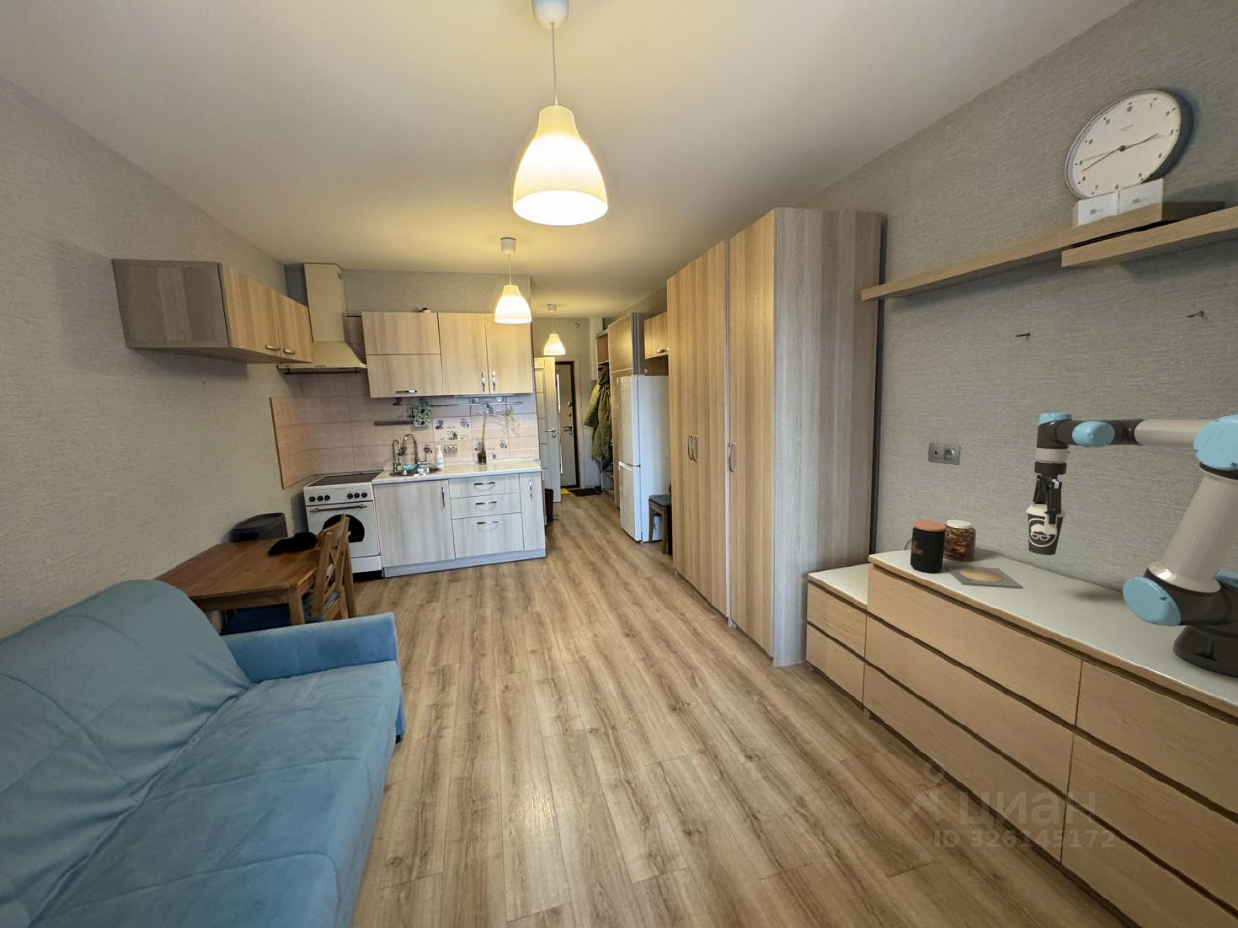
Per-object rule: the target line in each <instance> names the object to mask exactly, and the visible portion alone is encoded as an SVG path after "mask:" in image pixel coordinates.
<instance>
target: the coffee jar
mask: <svg viewBox="0 0 1238 928" xmlns="http://www.w3.org/2000/svg"><path fill="white" fill-rule="evenodd" d="M912 526H913V527H912V533H911V534H912V536H911V545H910V546H911V548H910V550H911V551H910V559H909V560H910V561H909V562H910V563H909V565H910V566H911V568H912V567H913V568H914V569H913V568H912V569H913V570H915V571H917V570H918V572H920V571H921V572H920V573H925V572H926V573H925V574H938V573H940V572H941V571H942V569H943V567H944V558H943V554H944V543H945V531H944V530H945V529H946V526H945V524H943V523H941V522H938V521H932V520H914V521H913V522H912Z"/></svg>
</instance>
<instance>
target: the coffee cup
mask: <svg viewBox="0 0 1238 928" xmlns="http://www.w3.org/2000/svg"><path fill="white" fill-rule="evenodd" d="M1053 510H1055V509H1053ZM1045 511H1047V505H1042V504H1030V505H1029V506H1028V507H1027V509H1026V511H1025V512H1026V513H1027V523H1028V525H1027V527H1028V532H1027V533H1028V536H1027V537H1028V539H1027V540H1028V551H1029V552H1031V553H1033V554H1037V555H1043V556H1045V555H1046V556H1054V555H1056V552H1057V549H1058V548H1057V546H1058V544H1059V538H1060V534H1061V530H1062V525H1063V522H1064V518H1065V517H1067V515H1066V512H1065V511H1064V508H1063V507H1061V514H1058V516H1057V526H1056V534H1044V524H1045V514H1044V512H1045Z"/></svg>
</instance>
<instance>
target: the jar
mask: <svg viewBox="0 0 1238 928" xmlns="http://www.w3.org/2000/svg"><path fill="white" fill-rule="evenodd" d="M944 525H945V526H946V529H945V530H944V531H945V543H944V554H943V559H946V560H949V561H954V562H960V563H970V562H974V561H975V555H976V540H977V532H976V531H977V530H976V528H974V527H972V523H971V522H969V521H965V520H961V519H949V520H946V524H944Z"/></svg>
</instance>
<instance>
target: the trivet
mask: <svg viewBox="0 0 1238 928" xmlns="http://www.w3.org/2000/svg"><path fill="white" fill-rule="evenodd" d="M943 568H944V569H945V570H946V571H947V572H949V574H950V575H952V577H954V578H955V579H956V581H958V582H959V583H960V584H961V585H963V586H975V587H991V588H1003V589H1007V588H1008V589H1018V590H1020V589H1023V590H1024V586H1023V585H1022V584H1020V583H1019V582H1017V581H1016V580H1014V579H1013V578H1012V577H1010V575H1008V574H1007V573H1005V571H1002V570H1001V569H1000V568H998V567H982V566H966V565H964V566H963V565H949V564H947V565H946V564H943Z"/></svg>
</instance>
